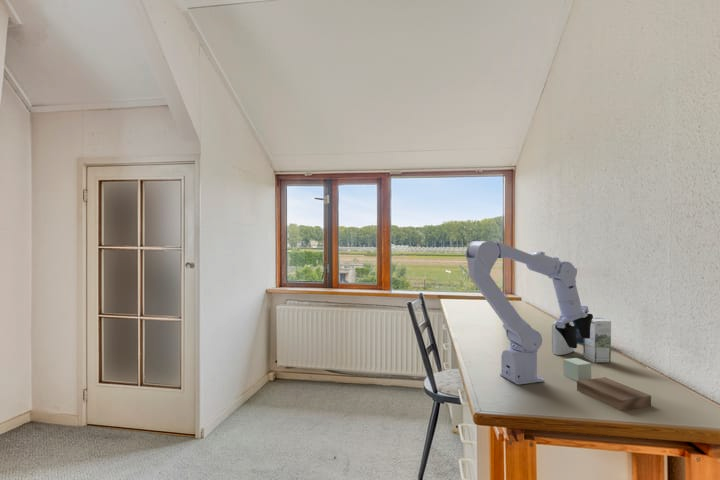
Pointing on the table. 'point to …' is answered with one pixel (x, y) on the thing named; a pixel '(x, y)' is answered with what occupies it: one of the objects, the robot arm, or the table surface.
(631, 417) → the table surface
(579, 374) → the sage cube
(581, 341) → the soda can
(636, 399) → the walnut block
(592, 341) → the syrup box
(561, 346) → the photo printer
